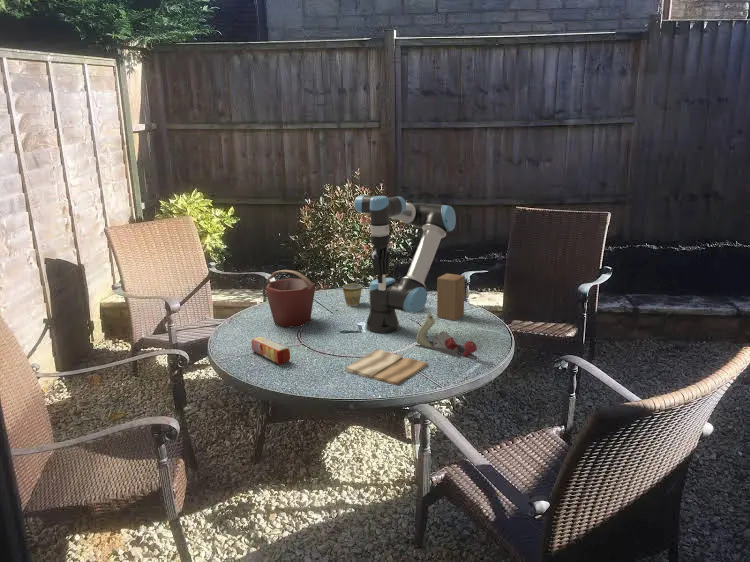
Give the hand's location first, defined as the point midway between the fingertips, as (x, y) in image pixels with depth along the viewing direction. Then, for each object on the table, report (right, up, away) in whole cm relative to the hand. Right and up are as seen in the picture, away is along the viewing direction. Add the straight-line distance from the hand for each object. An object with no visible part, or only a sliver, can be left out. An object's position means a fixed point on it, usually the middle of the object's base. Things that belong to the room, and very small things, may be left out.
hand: (382, 289), depth 263 cm
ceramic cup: (-14, -8, +66) cm, 67 cm away
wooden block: (+34, -14, +44) cm, 57 cm away
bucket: (-42, -16, +40) cm, 61 cm away
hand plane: (+26, -26, 0) cm, 37 cm away
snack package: (-46, -28, -3) cm, 54 cm away
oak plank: (+7, -32, -22) cm, 40 cm away
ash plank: (-3, -30, -16) cm, 34 cm away
